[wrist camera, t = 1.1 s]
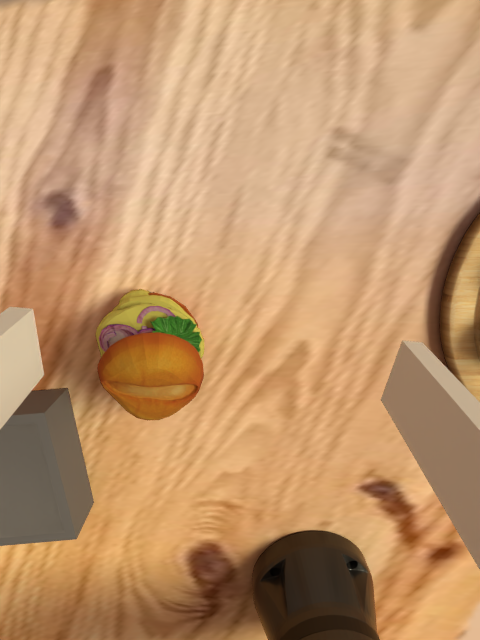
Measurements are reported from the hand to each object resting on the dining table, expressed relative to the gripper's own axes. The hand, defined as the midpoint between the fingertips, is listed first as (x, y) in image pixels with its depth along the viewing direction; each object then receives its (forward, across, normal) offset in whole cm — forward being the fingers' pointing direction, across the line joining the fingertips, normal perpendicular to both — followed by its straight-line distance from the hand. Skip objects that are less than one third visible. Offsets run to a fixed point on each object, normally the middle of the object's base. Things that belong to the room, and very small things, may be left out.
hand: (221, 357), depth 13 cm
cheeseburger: (+21, +6, +12) cm, 25 cm away
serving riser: (+18, +22, +27) cm, 39 cm away
